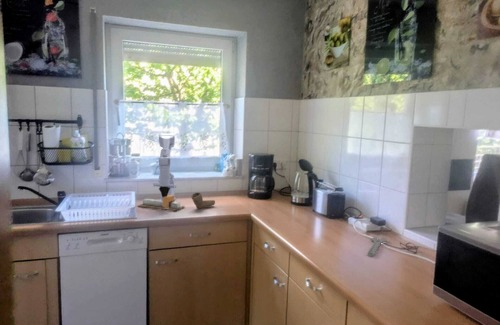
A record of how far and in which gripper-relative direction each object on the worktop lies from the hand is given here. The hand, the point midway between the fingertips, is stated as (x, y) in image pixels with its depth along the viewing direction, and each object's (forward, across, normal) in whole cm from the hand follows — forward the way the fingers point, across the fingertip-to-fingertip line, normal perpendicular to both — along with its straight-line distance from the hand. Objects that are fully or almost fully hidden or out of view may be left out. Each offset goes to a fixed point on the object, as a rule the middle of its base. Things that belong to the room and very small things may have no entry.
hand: (164, 199), depth 209 cm
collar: (+4, +3, 0) cm, 5 cm away
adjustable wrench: (+6, +119, -20) cm, 121 cm away
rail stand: (+5, -2, 0) cm, 6 cm away
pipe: (+6, +21, +10) cm, 24 cm away
